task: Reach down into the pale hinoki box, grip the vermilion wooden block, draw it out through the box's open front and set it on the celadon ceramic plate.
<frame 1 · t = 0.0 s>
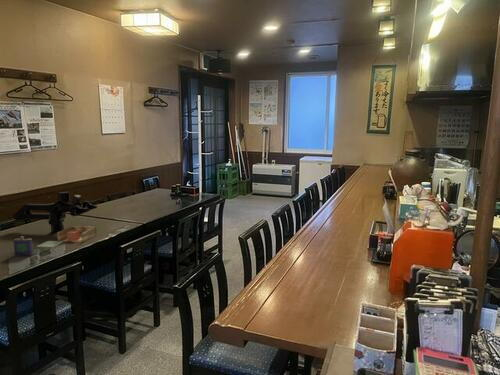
hand: (93, 208, 228), 17 cm above the table, tool horizontal, fingers open, 9 cm apart
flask: (24, 255, 191), on the table
plate: (50, 245, 206), on the table
hinoki box: (77, 239, 219), on the table
block: (74, 239, 214), point 1 cm above the table, touching hinoki box
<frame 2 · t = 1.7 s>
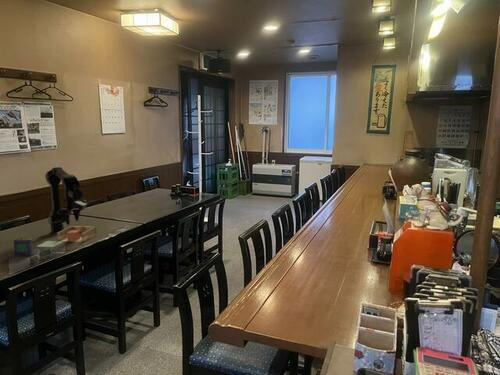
hand: (72, 222, 213), 11 cm above the table, tool pointing down, fingers open, 9 cm apart
nothing on the table moved.
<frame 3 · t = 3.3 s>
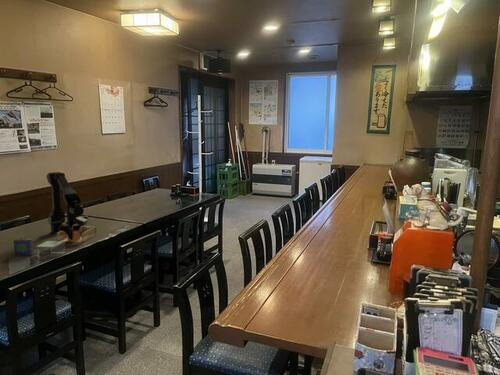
hand: (73, 238, 214), 2 cm above the table, tool pointing down, fingers closed on block, 5 cm apart
block: (74, 239, 214), point 1 cm above the table, touching gripper, hinoki box
everything else where it was.
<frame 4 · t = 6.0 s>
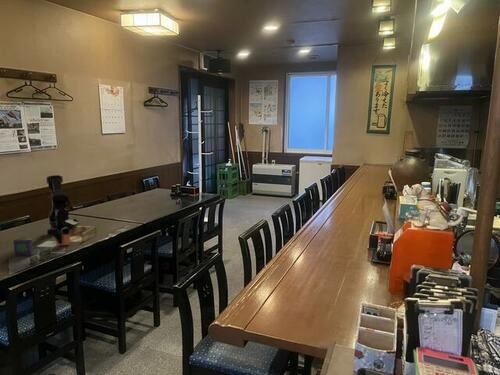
hand: (63, 242, 204), 3 cm above the table, tool pointing down, fingers closed on block, 5 cm apart
block: (63, 243, 204), point 2 cm above the table, touching gripper
everything else where it was.
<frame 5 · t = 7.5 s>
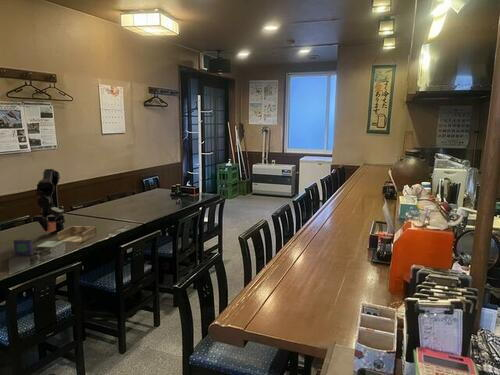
hand: (49, 229, 205), 9 cm above the table, tool pointing down, fingers closed on block, 5 cm apart
block: (49, 231, 205), point 9 cm above the table, touching gripper
everything else where it was.
when the fingers open (3 cm above the table, at t = 8.9 s): block drops 1 cm, resting on plate.
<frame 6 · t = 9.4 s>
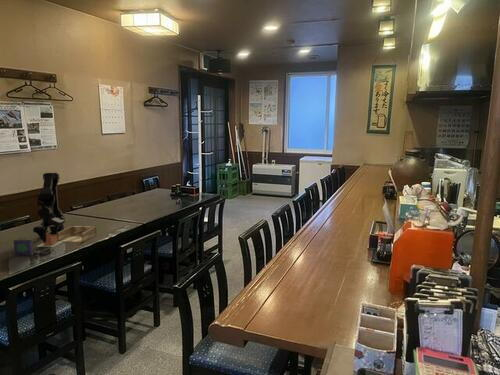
hand: (49, 240, 206), 3 cm above the table, tool pointing down, fingers open, 8 cm apart
block: (50, 243, 206), point 1 cm above the table, touching plate
everything else where it was.
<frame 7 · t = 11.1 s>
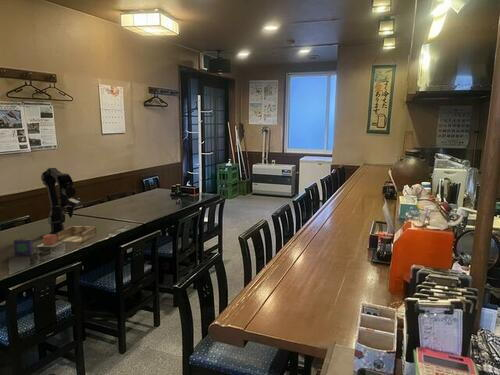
hand: (66, 219, 219), 12 cm above the table, tool pointing down, fingers open, 9 cm apart
nothing on the table moved.
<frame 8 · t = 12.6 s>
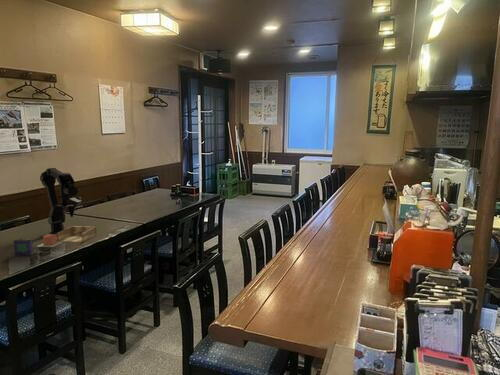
hand: (67, 218, 219), 12 cm above the table, tool pointing down, fingers open, 9 cm apart
nothing on the table moved.
at the end: block inside the target area on the plate (0.0 cm from its centre), point 1.0 cm above the plate's base; block tilted 0°; block touching plate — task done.
